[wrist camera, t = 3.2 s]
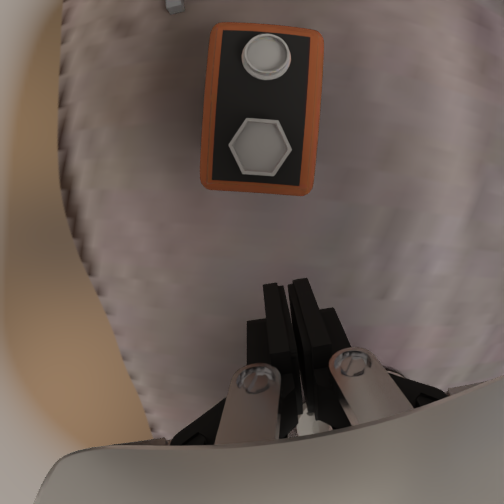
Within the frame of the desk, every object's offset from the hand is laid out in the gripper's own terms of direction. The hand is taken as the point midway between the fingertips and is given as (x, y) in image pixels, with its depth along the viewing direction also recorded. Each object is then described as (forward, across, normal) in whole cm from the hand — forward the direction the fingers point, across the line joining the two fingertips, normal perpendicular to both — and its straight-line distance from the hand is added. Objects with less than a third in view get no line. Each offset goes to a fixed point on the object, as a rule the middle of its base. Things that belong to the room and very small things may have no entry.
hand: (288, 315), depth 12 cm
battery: (+11, 0, -8) cm, 13 cm away
